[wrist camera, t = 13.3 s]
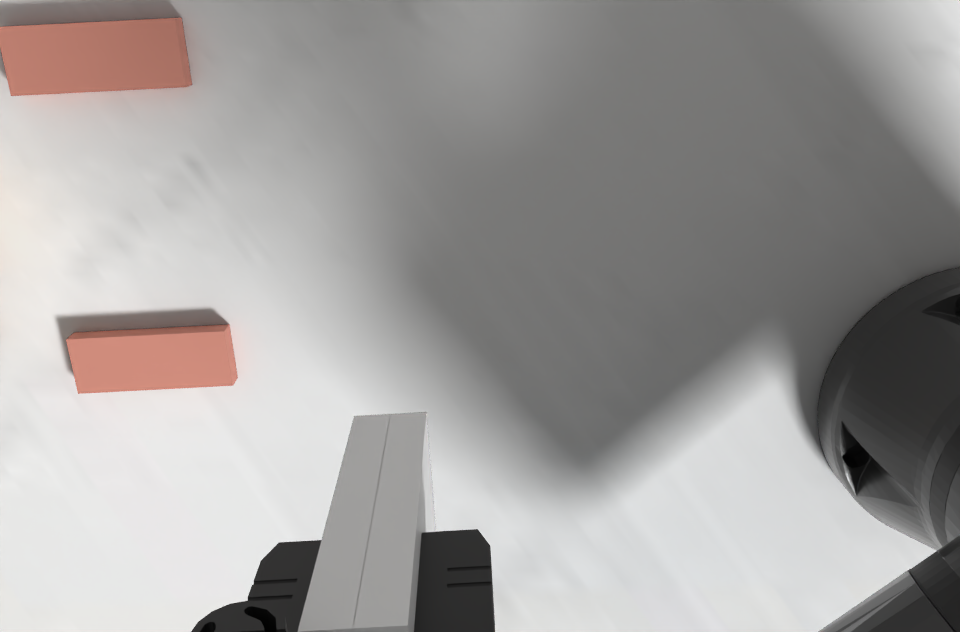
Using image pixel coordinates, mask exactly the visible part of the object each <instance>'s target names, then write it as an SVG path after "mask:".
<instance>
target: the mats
mask: <svg viewBox="0 0 960 632" xmlns="http://www.w3.org/2000/svg"><path fill="white" fill-rule="evenodd" d="M0 49H1V53H2V58H3V62H4V67H5V71H6V76H7V80H8V84H9V89H10V93H11V96H19V95H39V94H59V93H78V92H98V91H118V90H137V89H157V88H177V87H187V86H191V85H192V81H191V75H190V68H189V62H188V55H187V49H186V43H185V36H184V30H183V23H182V18H163V19H143V20H123V21H103V22H84V23H64V24H44V25H24V26H5V27H0ZM66 342H67V346H68V351H69V355H70V360H71V364H72V369H73V373H74V377H75V382H76V386H77V391H78V394H80V393H99V392H118V391H137V390H156V389H175V388H194V387H213V386H232V385H234V383H235V381H236V379H237V378H238V377H237V371H236V364H235V358H234V351H233V345H232V338H231V332H230V326H229V324H228V325H209V326H189V327H170V328H151V329H132V330H113V331H93V332H74V333H73V334H72V335H71V336H70V337H68V338H67V339H66Z"/></svg>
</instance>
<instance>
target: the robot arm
mask: <svg viewBox="0 0 960 632" xmlns="http://www.w3.org/2000/svg"><path fill="white" fill-rule="evenodd" d="M818 431H819V437H820V442H821V446H822V449H823V452H824V455H825V457H826V460H827V462H828V463H829V465H830V467H831V469H832V471H833V472H834V474H835V475H836V476H837V478H838V479H839V480H840V482H841V483H842V484H843V485H844V487H845V488H846V489H847V490H848V492H849V493H850V494H851V495H852V497H853V498H854V499H855V500H856V501H857V502H858V503H859V504H860V505H861V506H862V507H863V508H864V509H865V510H866V511H867V512H868V513H870V514H871V515H872V516H874V517H875V518H876V519H878V520H879V521H881V522H882V523H884V524H885V525H887V526H889V527H891V528H893V529H895V530H897V531H899V532H901V533H903V534H905V535H907V536H909V537H911V538H913V539H915V540H917V541H919V542H921V543H923V544H925V545H927V546H929V547H931V548H933V549H935V550H937V551H936V552H935V553H934V554H932V555H931V556H929V557H928V558H926V559H925V560H923V561H922V562H921V563H919V564H918V565H916V566H915V567H913V568H912V569H909V570H908V571H906V572H905V573H903V574H902V575H901V576H899V577H898V578H896V579H895V580H893V581H892V582H890V583H889V584H887V585H886V586H884V587H883V588H882V589H880V590H879V591H877V592H876V593H874V594H873V595H871V596H870V597H868V598H867V599H865V600H864V601H863V602H861V603H860V604H858V605H857V606H855V607H854V608H852V609H851V610H849V611H848V612H846V613H845V614H844V615H842V616H841V617H839V618H838V619H836V620H835V621H833V622H832V623H830V624H829V625H827V626H826V627H824V628H823V629H822V630H820V631H819V632H960V268H955V269H951V270H946V271H943V272H939V273H936V274H933V275H930V276H927V277H925V278H922V279H920V280H918V281H915V282H913V283H911V284H909V285H907V286H905V287H903V288H902V289H900V290H898V291H897V292H895V293H893V294H892V295H890V296H889V297H887V298H886V299H884V300H883V301H882V302H880V303H879V304H878V305H877V306H875V307H874V308H873V309H872V310H871V311H870V312H869V313H867V314H866V315H865V316H864V317H863V318H862V319H861V320H860V321H859V322H858V323H857V324H856V326H855V327H854V328H853V329H852V330H851V331H850V333H849V334H848V335H847V337H846V338H845V339H844V341H843V342H842V344H841V345H840V347H839V348H838V350H837V352H836V353H835V355H834V357H833V359H832V361H831V363H830V365H829V367H828V370H827V372H826V375H825V378H824V381H823V384H822V387H821V392H820V397H819V404H818ZM191 632H495V620H494V603H493V585H492V568H491V551H490V545H489V544H488V542H487V541H486V540H485V538H484V537H483V536H482V534H481V533H480V532H479V531H478V529H476V530H458V531H440V532H436V521H435V508H434V496H433V484H432V472H431V460H430V447H429V435H428V423H427V412H418V413H401V414H383V415H365V416H354V419H353V423H352V427H351V430H350V434H349V438H348V442H347V446H346V449H345V453H344V457H343V461H342V465H341V468H340V472H339V476H338V480H337V484H336V487H335V491H334V495H333V499H332V503H331V506H330V510H329V514H328V518H327V522H326V525H325V529H324V533H323V537H322V540H317V541H299V542H281V543H278V544H277V545H276V546H275V547H274V548H273V549H272V550H271V551H270V552H269V553H268V554H267V555H266V556H265V557H264V558H263V559H262V560H261V562H260V565H259V568H258V571H257V574H256V576H255V579H254V585H252V587H251V590H250V593H249V596H248V601H244V602H238V603H233V604H229V605H226V606H224V607H222V608H219V609H217V610H215V611H212V612H211V613H210V614H208V615H207V616H206V617H204V618H203V619H202V620H200V621H199V622H198V623H197V624H196V626H195V627H194V629H193V630H192V631H191Z"/></svg>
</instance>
